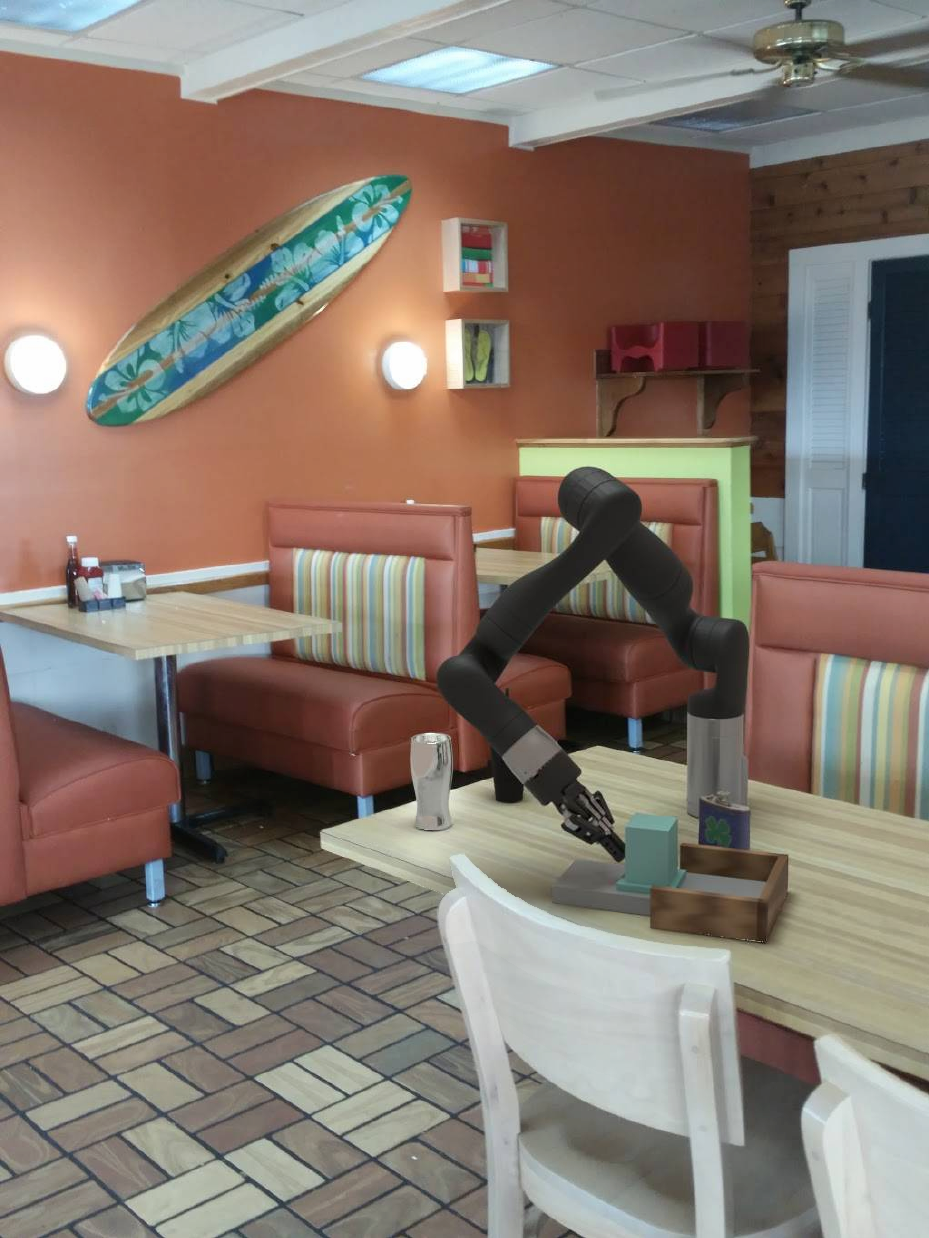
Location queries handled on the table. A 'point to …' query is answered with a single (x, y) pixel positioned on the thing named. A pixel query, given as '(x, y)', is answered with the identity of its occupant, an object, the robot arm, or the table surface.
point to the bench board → (598, 890)
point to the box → (723, 910)
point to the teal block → (651, 854)
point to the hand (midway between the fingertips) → (624, 857)
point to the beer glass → (432, 779)
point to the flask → (723, 822)
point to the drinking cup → (505, 778)
